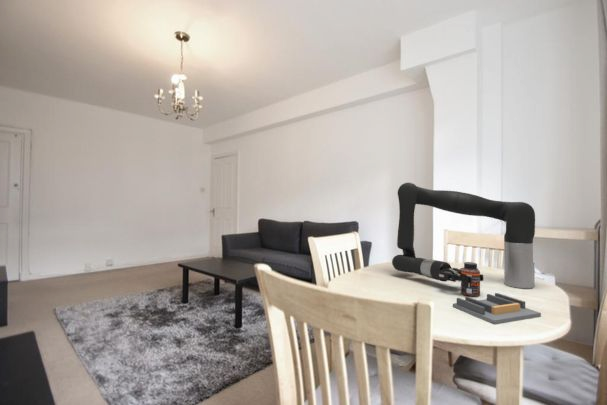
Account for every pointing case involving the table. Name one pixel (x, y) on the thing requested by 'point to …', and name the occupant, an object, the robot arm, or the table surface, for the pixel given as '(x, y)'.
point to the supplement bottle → (473, 272)
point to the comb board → (496, 308)
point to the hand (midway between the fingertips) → (477, 279)
